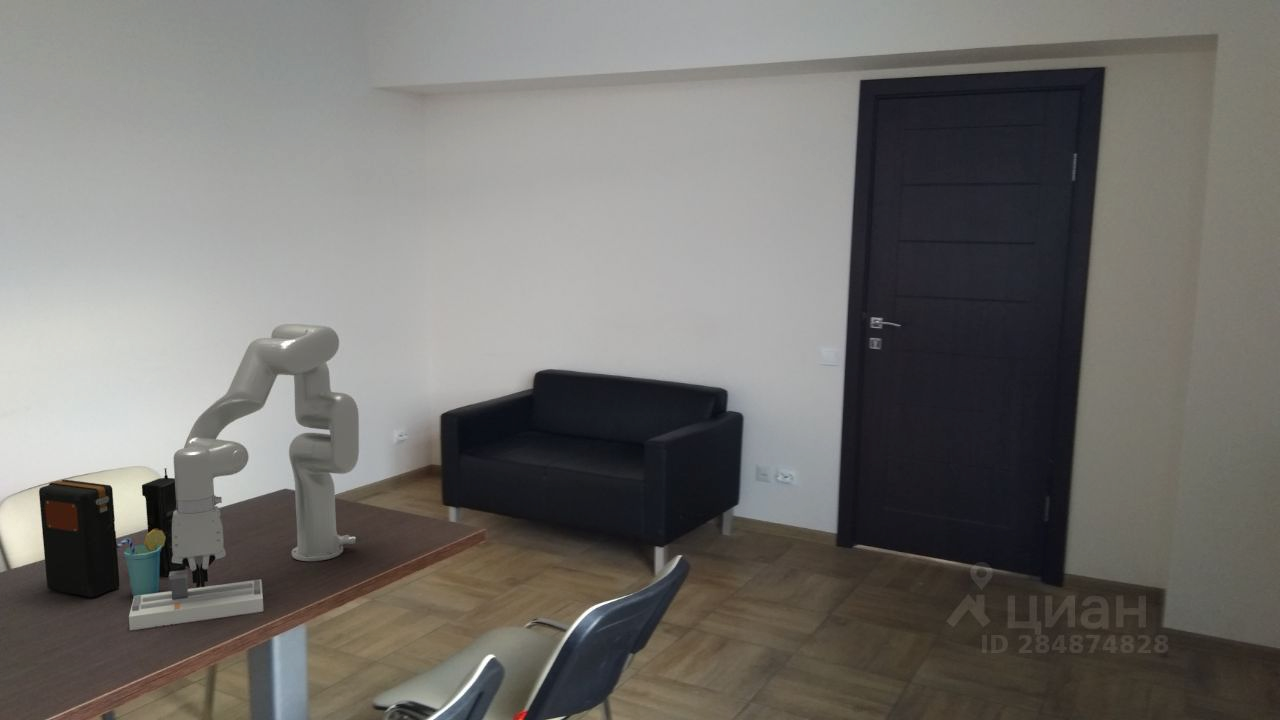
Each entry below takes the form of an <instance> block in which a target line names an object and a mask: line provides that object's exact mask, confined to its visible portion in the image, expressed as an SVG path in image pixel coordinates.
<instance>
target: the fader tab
mask: <svg viewBox="0 0 1280 720" xmlns="http://www.w3.org/2000/svg"><path fill="white" fill-rule="evenodd" d="M188 577H189V569H181V570H179V571H172V572H170V573H169V576H168V580H170V587H171V588H170V589H171V590H170V591H172V600H174V599H182V598H188V589H189V588H188Z"/></svg>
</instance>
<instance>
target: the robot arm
mask: <svg viewBox="0 0 1280 720" xmlns="http://www.w3.org/2000/svg"><path fill="white" fill-rule="evenodd" d="M339 347H340V339H339V336H338V334H337V332H336V330H334V328H331V327H329V326H326V325H316V324H315V325H313V324H311V325H310V324H301V323H287V324H286V323H285V324H284V323H283V324H280V325H277V326H275V327H274V329H273V330H272V332H271V336H270V337H260V338H255V339H254V340H252V341H251V342H250V343H249V345H248V346H247V348H246V350H245V352H244V355H243V357H242V359H241V361H240V363H239V366H238V367H237V370H236V372H235V375H234V376H233V379H232V381H231V383H230V386H229V387H228V390H227V391H226V393H225V394H223V396H222V397H220V398H218V399H217V400H216V401H215V402H214V403H212V405H210V406H209V407H208V408H206V410H204V411H203V412H202V414H200V415H199V416H198V418H197V419H196V420H195V422H194V424H193V426H192V427H191V429H190V431H189V434H188V436H187V438H186V440H185V443H184V446H183V447H182V448H180V449H178V450H176V451H175V453H174V455H173V470H174V473H173V474H174V478H175V491H176V506H177V510H176V511H174V512H173V518H172V552H173V556H172V562H173V563H180V564H181V563H182V564H184V565H186V568H189V570H190V571H191V575H192V577H191V578H192V584H196V585H195V586H196V587H195V588H200V587H206V585H205V583H207V582H209V577H208V574H209V573H208V569H209V566H210V565H211V564H212V563H213V562H214V561H216V560H219V559H222V558H225V557H226V554H227V553H226V549H225V546H224V545H225V543H224V541H225V540H224V539H225V538H224V529H223V528H224V526H223V521H222V515H221V511H220V508H219V506H217V504H222V503H223V499H222V496H217V495H215V489H214V488H215V485H214V479H215V478H217V477H225V476H232V475H236V474H238V473H240V472H241V471H242V470H244V469H245V467H246V466H247V465H248V461H249V451H248V449H247V448H246V447H245V446H244V445H243V444H242V443H240V442H238V441H234V440H233V441H232V440H231V441H230V440H224V439H217V438H218V437H219V435H220V434H221V432H222V431H223V430H224V429H225V428H226V427H227V426H228V425H230V424H231V423H233V422H235V421H237V420H239V419H241V418H243V417H246V416H249V415H251V414H254V413H256V412H258V411H260V410H261V409H262V408H264V406H265V405H266V402H267V400H268V398H269V395H270V392H271V391H272V388H273V386H274V383H275V382H276V379H277V377H278V376H280V375H281V376H293V380H294V381H293V383H294V386H293V387H294V413H295V414H294V416H295V420H296V422H297V423H298V424H299V425H300V426H302V427H304V428H310V429H315V430H316V429H317V430H324V431H325V430H329V433H320V432H303V433H301V434H298V435H296V436H295V437H294V438H293V440H291V443H290V445H289V447H288V456H289V462H290V465H291V468H292V473H293V479H294V491H295V493H294V494H295V495H294V496H295V514H296V515H295V516H296V535H297V537H296V539H297V546H296V547H294V548H292V550H291V557H292V558H293V559H295V560H297V561H300V562H320V561H326V560H330V559H333V558H336V557H338V556H341V554H342V553H343V552H344V545H352V544H353V545H354V544H356V536H355V535H354V536H350V534H345V535H340V534H338V532H337V523H336V522H337V520H336V519H337V517H336V515H337V514H336V497H335V494H336V493H335V483H334V480H333V477H332V475H331V474H338V475H344V474H349V473H351V471H352V470H354V468H356V465H357V463H358V459H359V453H360V427H359V426H360V425H359V423H360V421H359V420H360V419H359V409H358V405H357V403H356V401H355V398H353V397H352V396H351V395H349V394H347V393H344V392H338V391H337V392H334V391H332V389H331V380H330V379H331V377H330V369H329V366H328V364H327V362H329V361H330V360H332V358H333V357H335V355H336V354H337V353H338V351H339ZM197 557H202V562H201V563H200V566H199V564H198V563H197Z"/></svg>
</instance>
